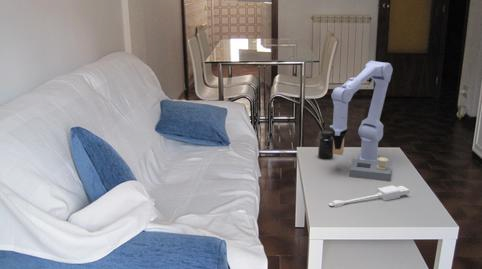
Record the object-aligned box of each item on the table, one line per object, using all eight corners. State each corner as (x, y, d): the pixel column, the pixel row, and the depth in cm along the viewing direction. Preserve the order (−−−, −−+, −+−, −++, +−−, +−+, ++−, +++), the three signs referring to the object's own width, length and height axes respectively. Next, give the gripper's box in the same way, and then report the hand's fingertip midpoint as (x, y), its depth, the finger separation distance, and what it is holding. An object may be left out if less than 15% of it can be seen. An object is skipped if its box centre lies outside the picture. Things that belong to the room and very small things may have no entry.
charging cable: (326, 206, 178) (326, 198, 177) (401, 191, 188) (401, 183, 187) (333, 212, 173) (333, 203, 172) (409, 196, 183) (410, 188, 182)
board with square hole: (352, 165, 216) (353, 150, 214) (390, 169, 211) (392, 153, 209) (349, 176, 203) (350, 160, 201) (389, 180, 198) (391, 164, 196)
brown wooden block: (333, 151, 211) (334, 135, 209) (343, 152, 210) (344, 136, 208) (332, 154, 208) (333, 138, 206) (342, 155, 207) (343, 139, 205)
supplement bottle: (315, 156, 227) (316, 131, 224) (327, 153, 230) (328, 129, 227) (323, 160, 222) (324, 135, 218) (336, 158, 224) (337, 133, 221)
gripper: (332, 111, 212) (331, 141, 216) (328, 119, 199) (326, 151, 203) (349, 112, 210) (347, 142, 214) (345, 121, 197) (343, 153, 201)
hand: (338, 147), depth 208 cm, fingers closed on brown wooden block, 4 cm apart
